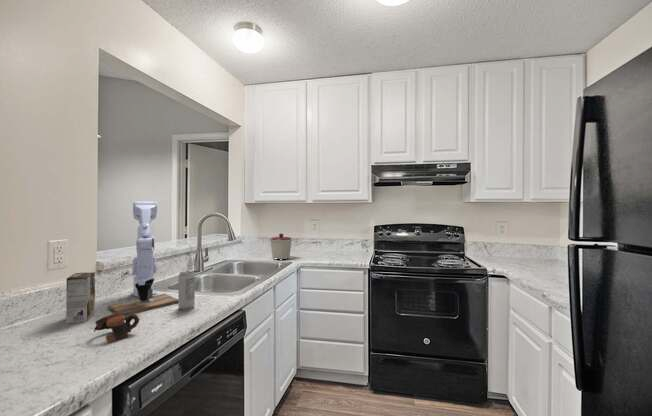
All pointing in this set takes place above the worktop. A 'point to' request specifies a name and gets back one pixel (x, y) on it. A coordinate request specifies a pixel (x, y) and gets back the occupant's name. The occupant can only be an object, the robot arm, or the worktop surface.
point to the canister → (281, 247)
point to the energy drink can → (186, 289)
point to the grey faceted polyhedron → (150, 294)
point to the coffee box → (80, 297)
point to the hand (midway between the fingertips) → (144, 298)
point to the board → (143, 304)
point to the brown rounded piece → (117, 325)
